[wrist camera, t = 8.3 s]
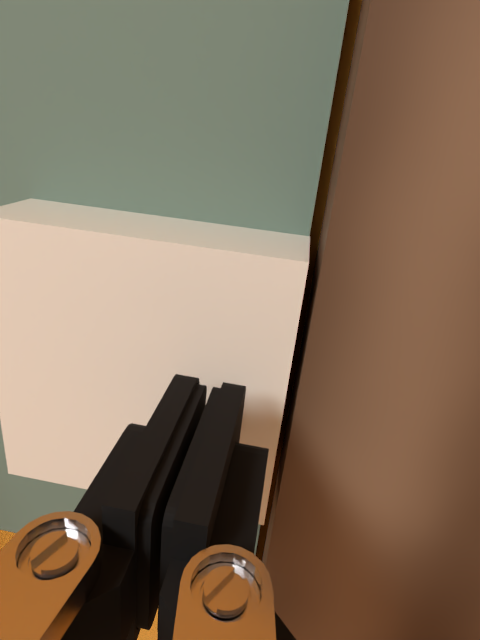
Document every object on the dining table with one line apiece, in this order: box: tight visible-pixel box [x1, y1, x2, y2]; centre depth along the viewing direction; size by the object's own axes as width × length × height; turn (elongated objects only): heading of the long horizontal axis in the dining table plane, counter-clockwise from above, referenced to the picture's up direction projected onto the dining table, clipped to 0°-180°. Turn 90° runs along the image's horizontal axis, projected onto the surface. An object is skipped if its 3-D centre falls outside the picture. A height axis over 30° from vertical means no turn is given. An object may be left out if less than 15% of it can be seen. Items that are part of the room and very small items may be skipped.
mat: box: [0, 0, 349, 555], centre depth 15 cm, size 13×20×1 cm, turn 174°
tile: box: [0, 198, 310, 525], centre depth 13 cm, size 8×8×2 cm
